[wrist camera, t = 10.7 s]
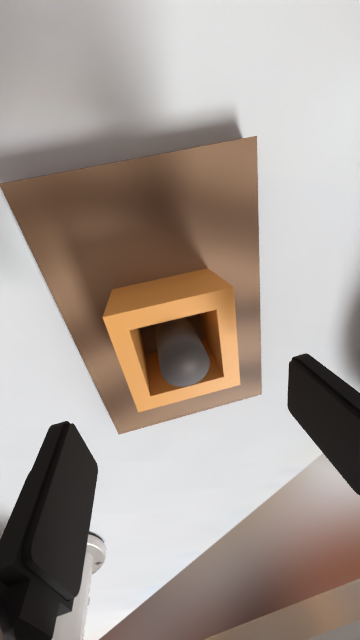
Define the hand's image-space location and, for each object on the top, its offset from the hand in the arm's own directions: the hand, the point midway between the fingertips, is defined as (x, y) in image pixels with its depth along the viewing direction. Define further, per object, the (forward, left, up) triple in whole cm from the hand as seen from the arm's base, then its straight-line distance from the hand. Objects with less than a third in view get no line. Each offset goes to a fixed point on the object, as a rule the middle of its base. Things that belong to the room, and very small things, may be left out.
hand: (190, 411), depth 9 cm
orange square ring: (+1, 0, -8) cm, 8 cm away
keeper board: (0, 0, -9) cm, 9 cm away
